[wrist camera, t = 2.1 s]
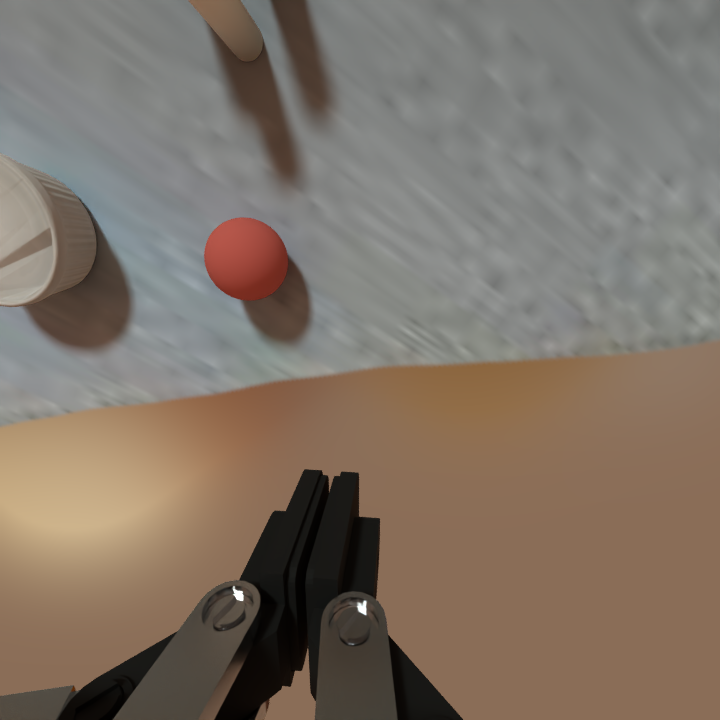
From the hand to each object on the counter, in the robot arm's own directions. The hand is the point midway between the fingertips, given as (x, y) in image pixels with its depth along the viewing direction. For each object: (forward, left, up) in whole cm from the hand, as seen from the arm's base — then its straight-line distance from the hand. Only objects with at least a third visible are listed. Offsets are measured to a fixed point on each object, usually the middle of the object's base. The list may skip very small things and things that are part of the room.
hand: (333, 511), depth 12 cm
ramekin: (+29, -9, -21) cm, 37 cm away
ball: (+10, -7, -18) cm, 22 cm away
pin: (+10, -22, -21) cm, 32 cm away
